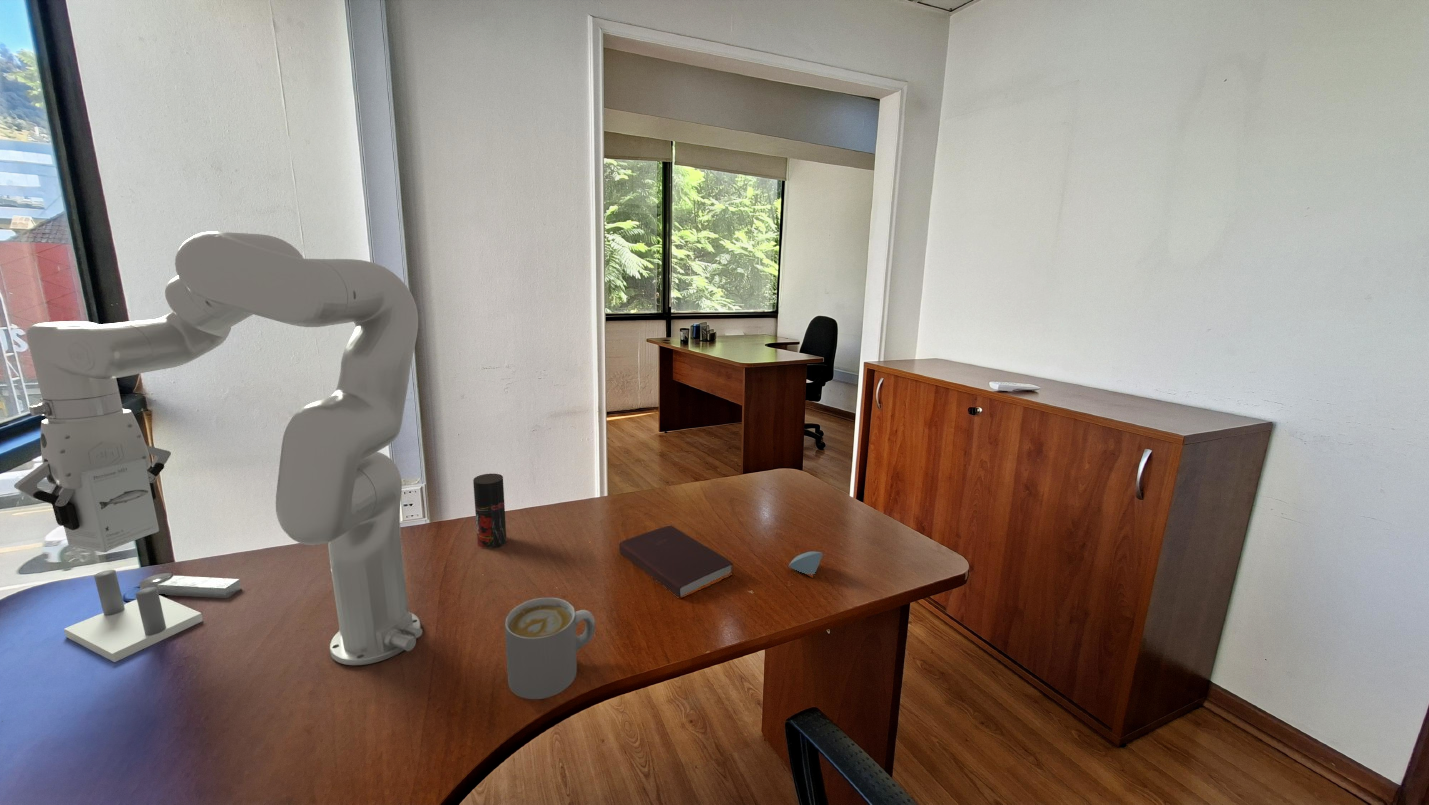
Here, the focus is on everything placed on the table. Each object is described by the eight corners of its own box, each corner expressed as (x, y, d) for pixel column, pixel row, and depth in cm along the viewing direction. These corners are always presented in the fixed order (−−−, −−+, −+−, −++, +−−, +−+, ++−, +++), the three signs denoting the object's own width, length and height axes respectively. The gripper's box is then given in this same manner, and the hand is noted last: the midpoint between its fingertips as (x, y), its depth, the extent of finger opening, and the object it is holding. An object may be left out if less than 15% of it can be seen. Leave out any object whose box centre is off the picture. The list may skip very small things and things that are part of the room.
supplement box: (105, 553, 83) (85, 474, 80) (67, 547, 84) (46, 468, 81) (162, 531, 90) (146, 457, 87) (126, 525, 91) (109, 452, 88)
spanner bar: (244, 586, 103) (242, 577, 103) (223, 600, 99) (221, 590, 98) (159, 582, 103) (156, 572, 103) (134, 595, 99) (132, 585, 99)
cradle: (203, 621, 93) (194, 575, 91) (115, 662, 83) (102, 612, 81) (154, 599, 98) (144, 556, 96) (65, 636, 88) (52, 588, 86)
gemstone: (836, 568, 111) (826, 544, 114) (802, 579, 109) (792, 554, 111) (823, 578, 118) (814, 555, 120) (790, 588, 115) (782, 565, 118)
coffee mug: (513, 708, 78) (510, 646, 75) (503, 663, 86) (500, 606, 84) (606, 679, 84) (606, 621, 81) (589, 640, 92) (588, 586, 90)
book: (678, 602, 104) (679, 585, 103) (618, 555, 120) (618, 539, 119) (733, 578, 113) (734, 562, 112) (671, 537, 129) (671, 522, 128)
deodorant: (512, 540, 124) (508, 477, 120) (489, 551, 119) (484, 486, 115) (495, 533, 127) (491, 471, 123) (471, 543, 122) (467, 479, 118)
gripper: (6, 424, 73) (40, 546, 77) (173, 397, 88) (193, 500, 92) (-20, 416, 75) (13, 535, 79) (146, 392, 91) (167, 492, 95)
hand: (110, 515), depth 86 cm, fingers closed on supplement box, 8 cm apart
